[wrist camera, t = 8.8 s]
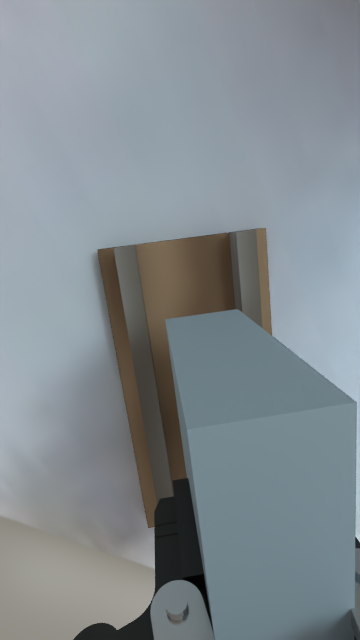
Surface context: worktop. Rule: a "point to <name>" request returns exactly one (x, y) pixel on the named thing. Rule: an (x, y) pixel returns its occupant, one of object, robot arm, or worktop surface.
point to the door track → (151, 334)
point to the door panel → (266, 480)
